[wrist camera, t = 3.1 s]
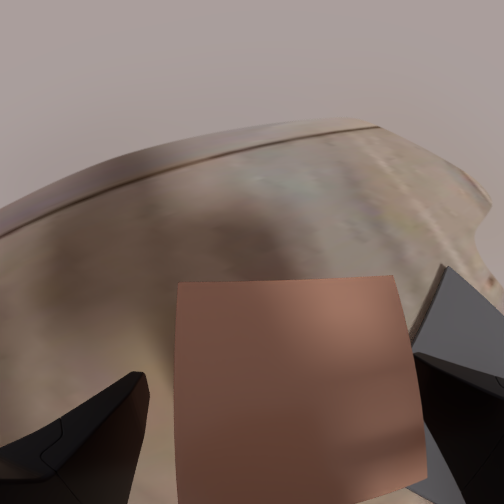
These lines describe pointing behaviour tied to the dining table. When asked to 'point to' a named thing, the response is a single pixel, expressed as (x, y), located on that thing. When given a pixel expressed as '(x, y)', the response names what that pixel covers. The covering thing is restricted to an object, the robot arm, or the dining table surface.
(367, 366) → the pink upright block
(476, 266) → the dining table surface
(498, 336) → the charcoal mat
